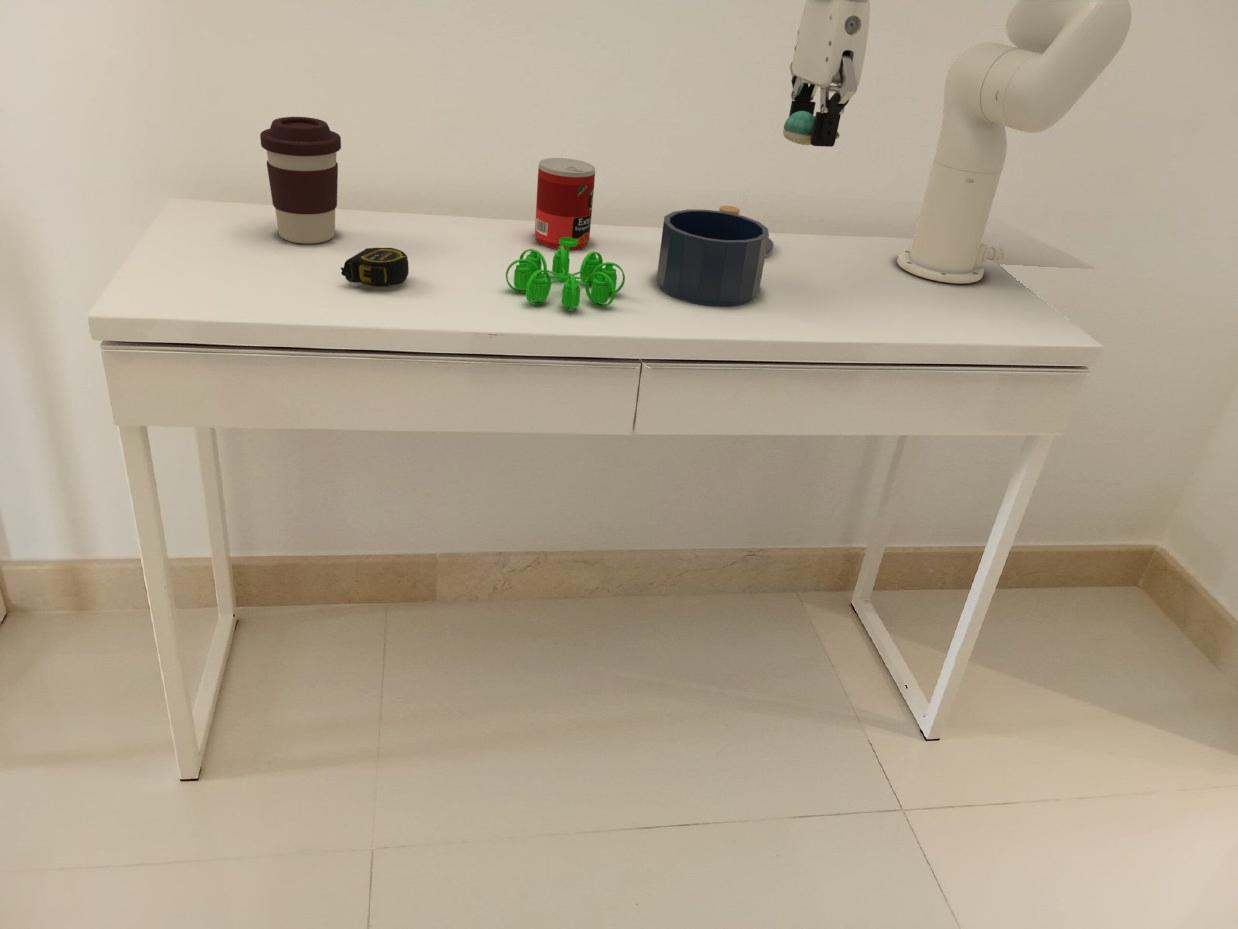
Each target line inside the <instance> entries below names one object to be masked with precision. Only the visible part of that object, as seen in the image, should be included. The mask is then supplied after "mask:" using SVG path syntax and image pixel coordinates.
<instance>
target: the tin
mask: <svg viewBox="0 0 1238 929" xmlns="http://www.w3.org/2000/svg"><path fill="white" fill-rule="evenodd" d="M768 238H769V239H770V232H769V228H768V227H767V226H765V225H764V224H763V223H761V222H760V221H757V220H755V219H753V218H750V217H748V216H744V215H741V214H739V215H737V214H732V213H728V212H722V211H719V210H712V209H689V208H687V209H683V210H677V211H672V212H670V213H668V214H666V215H664V217H663V224H662V232H661V241H660V247H659V248H660V249H659V256H658V257H659V258H658V264H657V272H656V273H657V274H656V286H657V287H658V288H659V289H660V290H661V291H662V292H663V293H665V294H666V295H669V296H670V297H673V298H675V299H676V300H677V299H678V300H680V301H683V302H687V303H691V304H696V305H701V306H708V307H721V308H722V307H725V308H727V307H737V306H744V305H747V304H750V303H752V302H753V301H755V300H756V299H757V297H758V295H759V293H760V289H761V283H762V276H763V270H764V265H765V260H766V255H767V254H766V249H767V243H768Z"/></svg>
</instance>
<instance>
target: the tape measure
mask: <svg viewBox="0 0 1238 929" xmlns="http://www.w3.org/2000/svg"><path fill="white" fill-rule="evenodd" d="M409 268H410V267H409V259H408V255H407V254H406V253H405V252H404V251H403V250H401V249H397V248H394V247H368V248H365V249H363V250H362V251H360V252H358V253H357V254H355V255H353V256H351V257H350V258H348V259H347V260H345V262H344V264H343V267H342V266H341V267H340V270H341V272H340V273H341V276H344V277H345V279H346V281H347V282H349V283H355V284H356V283H361V284H363V285H366V286H369V287H376V288H377V287H378V288H380V287H381V288H383V287H385V288H386V287H392V286H397V285H400V284H402V283H404V282H405V281H406V280H407V278H408V276H409V274H410V273H409V271H410V269H409Z"/></svg>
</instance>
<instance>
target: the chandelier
mask: <svg viewBox="0 0 1238 929" xmlns="http://www.w3.org/2000/svg"><path fill="white" fill-rule="evenodd" d="M577 243H578V240H577V239H575V238H570V237H563V238H560V240H559V244H560V245H562V246H559V248H558V249H557V251H555V252H554V253H553V257H552V266H551V270H549V269H548V265H547V261H546V259H545V257H544V255H543V254H542V253H541V252H540V250H537V249H535V248H529V249H525V250H524V251H523V252H522V253H521V254H520V256H519V258H518V259H516V260H514V261H512V262H511V263H510V264H509V265H508V267H507V268H506V272H505V281H506V283H507V285H508V286H509V288H510V289H511V290H512V291H514V292H516V293H521V294H524V293H525V298H526V301H527V302H528V303H529V304H532V305H534V306H538V305H541V304H543V303H544V301H546V300H547V298H548V297H549V293H550V291H551V287H552V284H555V283H557V282H560V283H563V286H562V290H561V304H562V306H564V307H566V308H567V311H568V312H574V310H575V308H577V307H578V306H579V305H580V300H581V299H580V298H581V288H580V284H581V285H583V286H585V287H584V289H585V293H586V296H587V298H588V300H589V301H590V303H592V304H593V306H594V305H595V306H596V307H599V308H604V307H608V306H610V305H611V304H612V303H613V302H614V300H615V297H616V294H617V293H619V292H620V291H621V290H622V289H623V287H624V285H625V281H626V275H625V273H624V270H623V268H622V267H621V266H620V265H619V264H617V263H615V262H612V261H606V262H604V260H603V256H602V254H601V253H599V252H598V251H594V250H593V251H590V252H588V253H587V254H586V255H585V256H584V258H583V260H582V262H581V264H580V269H579V271H577V272H574V273H570V250H569V249H570V247H575V246H577ZM564 246H566V247H567V249H566V250H565V249H564ZM528 252H529V254H527V255H526V253H528ZM525 255H526V256H525ZM524 256H525V258H524ZM516 264H517V265H516ZM514 265H515V270H514V274H513V275H514V277H513V285H511V283H510V281H509V278H508V277H509V276H508V275H509V272H510V269H511V268H512V267H513V266H514ZM614 267H616V268H617V269H619V270H620V272H621V274H622V281H621V283H620V285H619V287H618V288H617V281H618V280H617V279H618V275H617V270H616V268H614ZM542 268H543V269H542ZM550 274H552V275H550ZM577 275H579V276H577ZM552 279H555V280H552ZM590 285H591V286H590ZM590 288H591V289H590ZM609 296H611V297H610V299H609Z"/></svg>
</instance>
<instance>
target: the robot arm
mask: <svg viewBox="0 0 1238 929" xmlns="http://www.w3.org/2000/svg"><path fill="white" fill-rule="evenodd" d="M870 14H871V2H870V0H805V2H804V6H803V11H802V13H801V18H800V21H799V26H798V29H797V34H796V39H795V43H794V44H795V45H794V50H793V56H792V61H791V63H790V64H789V70H790V75H791V81H790V82H791V86H792V89H791V93H790V99H791V103H790V109H789V115H788V118H789V117H790V116H791V115H792V114H793V113H795V112H798V111H806V112H809V113H811V114H812V115H813V116H815V121H814V126H813V131H812V136H811V141H810V144H811V145H810V146H812V147H825V148H827V147H830V148H833V147H834V146H835V144H836V140H837V139H836V135H837V132H838V130H839V125H840V120H841V116H842V115H843V114H844V112H845V108H846V106H847V105H848V104H849V102H850V100H851V99H852V98H853V96H854V95H855V94H856V93H857V91H858V87H859V86H860V82H861V79H862V72H863V68H864V62H865V56H866V50H867V44H868V36H869V28H870V18H871V17H870V16H871V15H870ZM1131 22H1132V6H1131V3H1130V1H1129V0H1016V2H1015V3H1014V4H1013V6H1012V7H1011V9H1010V11H1009V13H1008V15H1007V18H1006V21H1005V34H1006V37H1007V39H1008V40H1009V41H1010V43H1011V44H1012V45H1013V46H1012V45H1008V44H1004V43H1000V42H999V43H998V42H992V41H989V42H987V41H986V42H985V41H984V42H978V43H974V44H971V45H969V46H967V47H966V48H963V50H961V51H960V52H959V53H958V54H957V55H956V56H955V58H954V59H953V61H952V62H951V64H950V66H949V68H948V70H947V74H946V78H945V84H944V90H943V108H942V109H943V110H942V120H941V126H940V130H939V134H938V135H939V136H938V140H937V144H936V147H935V153H934V156H933V160H932V164H931V168H930V171H929V176H928V179H927V183H926V187H925V191H924V195H923V199H922V204H921V207H920V211H919V215H918V220H917V223H916V227H915V231H914V235H913V238H912V242H911V245H910V249H904V250H902V251H901V252H899V253H898V255H897V260H896V263H897V265H898V266H899V267H900V268H901V269H902V270H904V271H906V272H908V273H910V274H912V275H914V276H917V277H920V278H923V279H927V280H931V281H935V282H941V283H948V284H960V285H961V284H963V285H964V284H973V283H976V282H979V281H981V280H982V278H983V276H984V273H985V269H984V268H983V266H982V263H985V262H986V261H988V260H989V261H1001V260H1003V259H1004V258H1005V254H1006V251H1005V248H1004V247H1002V246H992V247H991V246H990V247H987V244H986V243H982V241H983V238H984V234H985V230H986V227H987V224H988V220H989V217H990V213H991V210H992V207H993V202H994V199H995V196H996V192H997V190H998V189H997V188H998V186H999V183H1000V182H999V181H1000V178H1001V176H1002V172H1003V169H1004V166H1005V162H1006V157H1007V149H1008V142H1007V139H1008V138H1007V131H1006V127H1007V128H1010V129H1013V130H1016V131H1020V132H1023V133H1029V134H1037V133H1042V132H1044V131H1047V130H1049V129H1050V128H1052V127H1053V126H1054V125H1056V124H1057V123H1059V121H1061V120H1062V119H1063V118H1064V117H1065V115H1066V114H1067V113H1068V112H1069V111H1070V110H1071V109H1072V108H1073V107H1074V106H1075V105H1076V103H1077V102H1078V101H1079V100H1080V98H1081V97H1083V95H1084V94H1085V93H1086V91H1088V89H1090V87H1091V86H1092V85H1093V84H1094V82H1096V80H1097V79H1098V78H1099V76H1100V75H1101V74H1102V73H1103V72H1104V70H1105V69H1106V68H1107V67H1109V65H1110V63H1111V62H1112V61H1113V60H1114V58H1116V56H1117V55H1118V53H1119V52H1120V50H1121V49H1122V47H1123V45H1124V43H1125V41H1126V39H1127V36H1128V33H1129V30H1130V26H1131ZM832 84H833V85H832ZM834 84H835V85H834ZM818 88H820V90H819V92H820V94H819V111H816V112H815V108H816V103H817V102H816V101H814V98H815V96H816V93H817V91H818ZM830 93H831V94H832V96H831V97H830Z"/></svg>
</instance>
